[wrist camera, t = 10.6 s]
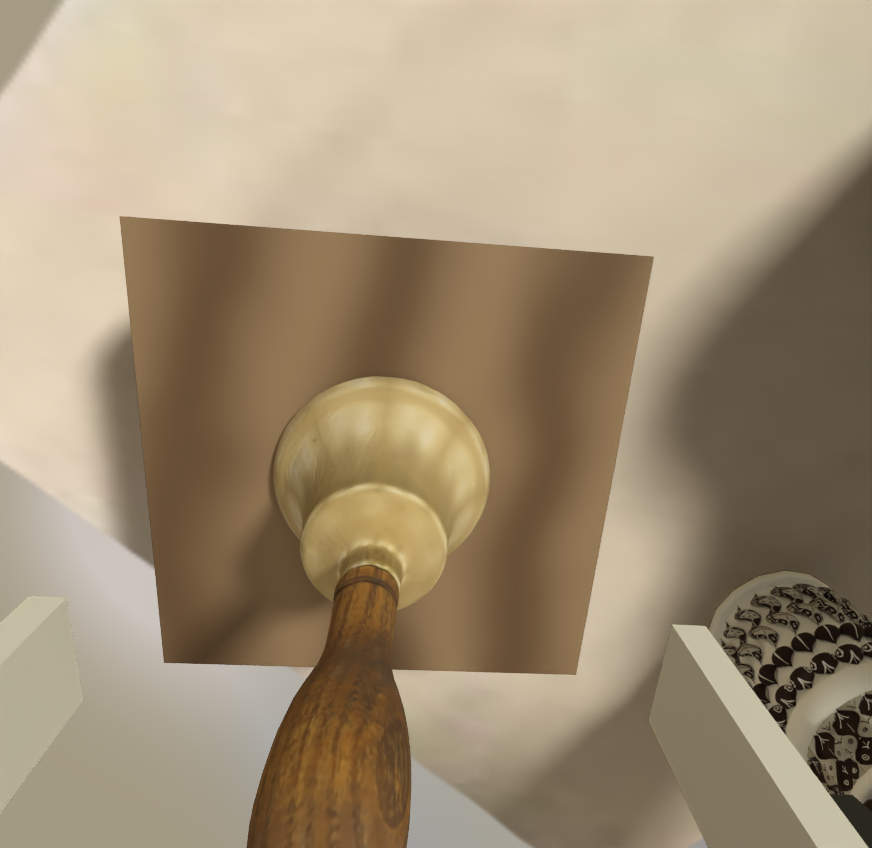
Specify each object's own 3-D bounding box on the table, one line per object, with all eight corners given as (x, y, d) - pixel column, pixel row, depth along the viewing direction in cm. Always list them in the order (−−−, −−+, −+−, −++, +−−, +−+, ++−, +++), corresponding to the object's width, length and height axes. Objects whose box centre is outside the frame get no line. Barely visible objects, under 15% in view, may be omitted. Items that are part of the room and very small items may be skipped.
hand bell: (436, 598, 23) (478, 1263, 8) (245, 529, 22) (-130, 1171, 7) (526, 427, 21) (815, 904, 6) (320, 338, 20) (11, 659, 5)
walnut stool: (579, 251, 28) (653, 256, 19) (534, 563, 33) (575, 674, 25) (213, 223, 27) (119, 216, 18) (229, 551, 32) (164, 662, 24)
